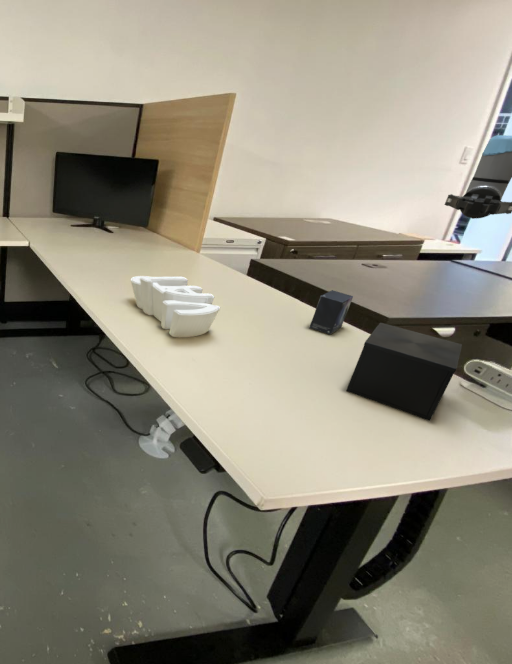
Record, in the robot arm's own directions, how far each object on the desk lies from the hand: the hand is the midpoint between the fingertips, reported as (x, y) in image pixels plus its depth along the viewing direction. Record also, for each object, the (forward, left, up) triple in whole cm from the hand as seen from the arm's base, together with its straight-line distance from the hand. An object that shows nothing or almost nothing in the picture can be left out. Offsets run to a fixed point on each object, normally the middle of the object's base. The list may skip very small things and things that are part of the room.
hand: (475, 208), depth 101 cm
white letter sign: (+59, -6, -40) cm, 72 cm away
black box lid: (+7, +16, -28) cm, 33 cm away
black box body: (+7, +15, -40) cm, 43 cm away
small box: (+14, -23, -40) cm, 48 cm away
